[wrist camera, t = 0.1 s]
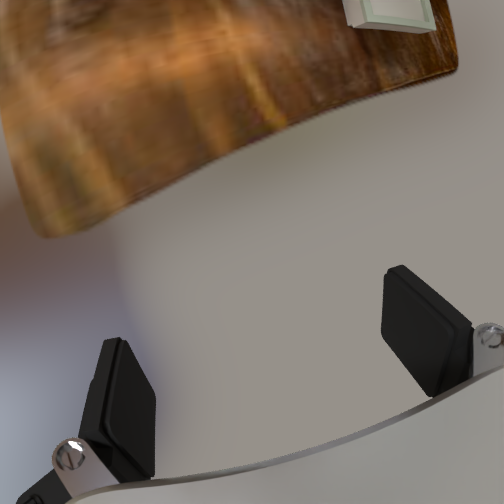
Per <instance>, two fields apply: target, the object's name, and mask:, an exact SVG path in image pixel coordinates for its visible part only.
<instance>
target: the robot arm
mask: <svg viewBox="0 0 504 504" xmlns="http://www.w3.org/2000/svg"><path fill="white" fill-rule="evenodd" d="M471 325H472V323H471V322H470V321H469V320H468V319H467V318H466V317H464V315H463V314H461V313H460V312H459V311H458V310H457V309H456V308H454V307H453V306H452V305H451V304H450V303H449V302H448V301H446V300H445V299H444V298H443V297H442V296H441V295H439V294H438V293H437V292H436V291H435V290H434V289H432V288H431V287H430V286H429V285H428V284H426V283H425V282H424V281H423V280H421V279H420V278H419V277H418V276H417V275H415V274H414V273H413V272H412V271H410V270H409V269H408V268H407V267H405V266H404V265H399V266H396V267H393V268H390V269H388V271H387V274H385V275H384V289H383V308H382V323H381V334H382V337H383V339H384V340H385V342H386V343H387V344H388V345H389V347H390V348H391V349H392V351H393V352H394V353H395V354H396V356H397V357H398V358H399V359H400V361H401V362H402V363H403V365H404V366H405V367H406V368H407V370H408V371H409V372H410V374H411V375H412V376H413V378H414V379H415V380H416V381H417V383H418V384H419V386H420V387H421V388H422V389H423V391H424V392H425V393H426V395H427V396H428V397H433V398H432V399H430V400H428V401H426V402H424V403H422V404H420V405H418V406H416V407H414V408H412V409H410V410H408V411H405V412H403V413H401V414H399V415H397V416H394V417H392V418H390V419H388V420H385V421H383V422H381V423H378V424H376V425H373V426H371V427H368V428H366V429H363V430H361V431H358V432H356V433H353V434H350V435H347V436H345V437H342V438H339V439H336V440H333V441H330V442H327V443H324V444H322V445H318V446H316V447H312V448H309V449H306V450H302V451H299V452H295V453H292V454H288V455H285V456H281V457H278V458H273V459H269V460H265V461H262V462H257V463H253V464H248V465H244V466H239V467H234V468H229V469H224V470H219V471H213V472H207V473H201V474H194V475H188V476H180V477H172V478H164V479H155V480H151V477H154V475H155V411H156V396H155V393H154V391H153V389H152V387H151V385H150V383H149V382H148V380H147V378H146V376H145V374H144V373H143V371H142V369H141V367H140V365H139V363H138V361H137V359H136V357H135V356H134V353H133V352H132V350H131V348H130V346H129V344H128V342H127V341H126V340H122V339H121V338H120V337H117V338H112V339H107V340H104V342H103V345H102V349H101V353H100V356H99V360H98V363H97V367H96V371H95V375H94V378H93V380H92V381H91V383H90V387H89V391H88V395H87V399H86V403H85V408H84V412H83V416H82V421H81V425H80V430H79V435H78V438H73V437H72V438H69V439H66V440H64V441H62V442H61V443H59V445H57V447H56V448H55V450H54V451H53V454H52V465H53V467H54V469H53V470H52V471H50V472H49V473H48V474H47V475H45V476H44V477H43V478H42V479H40V480H39V481H38V482H37V483H36V484H34V485H33V486H32V487H31V488H29V489H28V490H27V491H26V492H24V493H23V494H22V495H21V496H20V497H19V498H18V500H17V502H16V504H504V328H503V327H502V326H500V325H497V324H494V323H484V324H481V325H479V326H477V327H476V329H474V328H473V327H471Z"/></svg>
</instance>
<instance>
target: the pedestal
mask: <svg viewBox="0 0 504 504" xmlns="http://www.w3.org/2000/svg"><path fill="white" fill-rule="evenodd" d="M342 3H343V7H344V11H345V15H346V20H347V24H348V26H353V28H366V29H381V30H392V31H401V32H409V33H417V34H421V33H426V32H430V31H435V30H436V26H435V21H434V17H433V13H432V9H431V5H430V1H429V0H342Z"/></svg>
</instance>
